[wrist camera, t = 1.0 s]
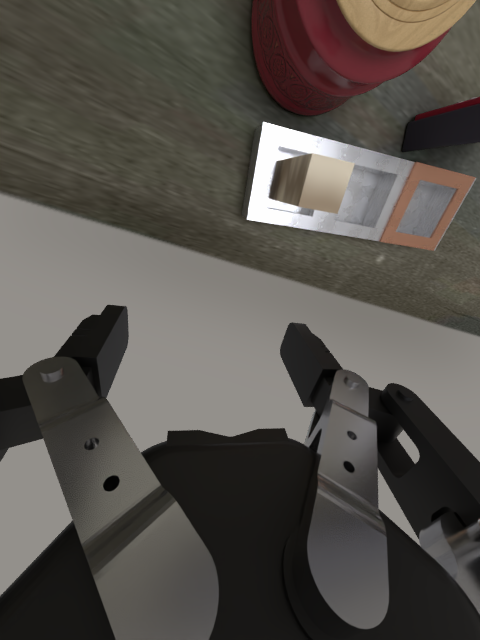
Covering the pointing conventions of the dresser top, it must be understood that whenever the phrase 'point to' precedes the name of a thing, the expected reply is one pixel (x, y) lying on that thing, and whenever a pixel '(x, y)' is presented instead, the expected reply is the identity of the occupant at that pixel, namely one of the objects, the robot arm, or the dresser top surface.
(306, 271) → the dresser top surface
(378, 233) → the rail
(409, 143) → the dark grey box
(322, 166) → the peg
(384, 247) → the dresser top surface
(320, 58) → the canister
